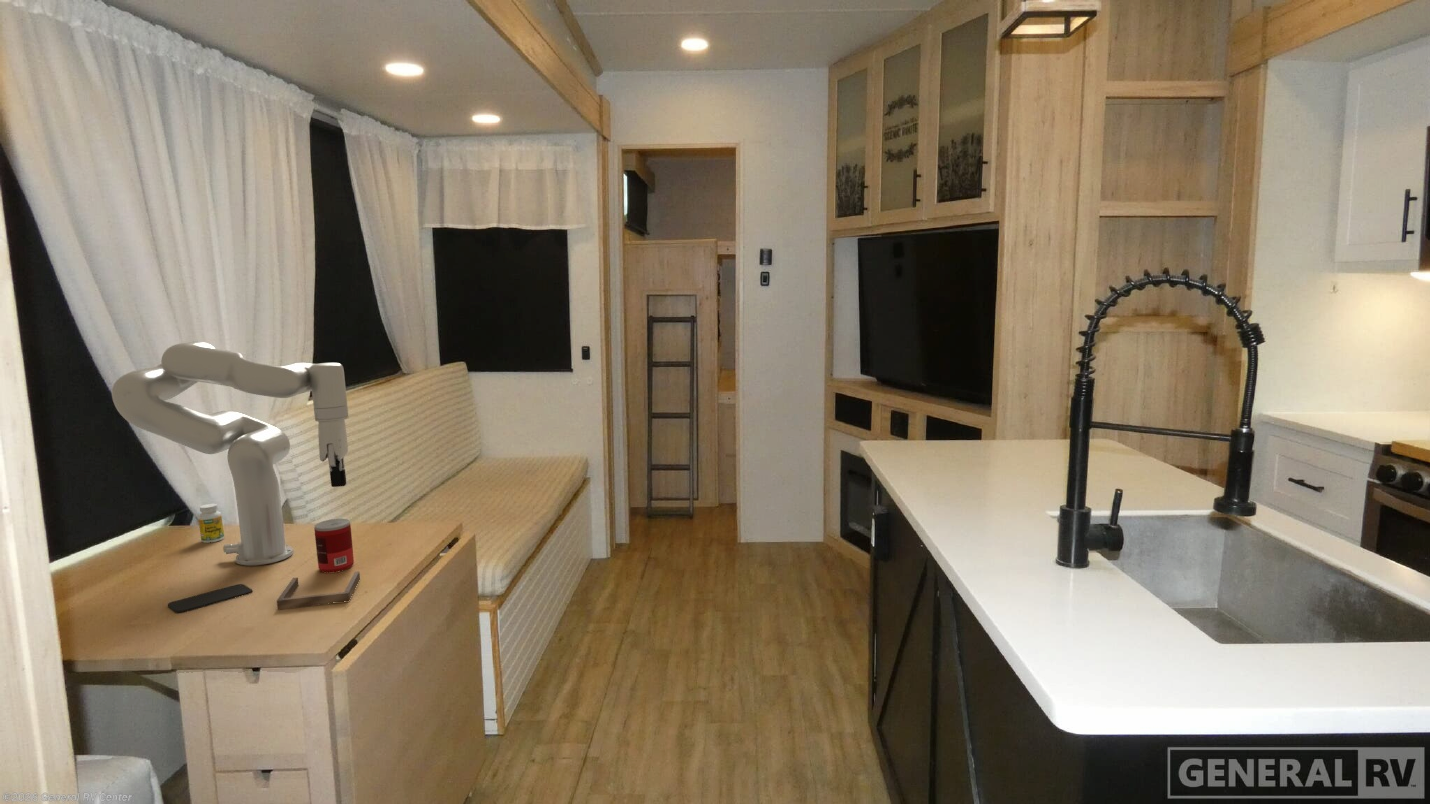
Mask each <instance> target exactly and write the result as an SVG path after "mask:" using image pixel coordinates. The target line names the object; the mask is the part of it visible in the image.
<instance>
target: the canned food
mask: <svg viewBox="0 0 1430 804" xmlns="http://www.w3.org/2000/svg"><path fill="white" fill-rule="evenodd" d="M313 528H314V537H315V538H314V539H315V548H316V556H317V559H316V560H317V566H318V567H317V568H318V569H319V571H320V572H321V573H324V572H326V574H329V572H334V573H339V572H338V571H340V572H343V571H346V570H348V568H349V569H350V568H352V565H353V566H354V561H355V559H354V558H355V557H354V549H353V538H352V537H353V536H352V528H351V521H350V519H348V518H347V519H346V518H334V519H333V518H332V519H327V520H324V521H320V522H317V523H316V524H314V527H313ZM342 570H343V571H342ZM327 572H328V573H327Z"/></svg>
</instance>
